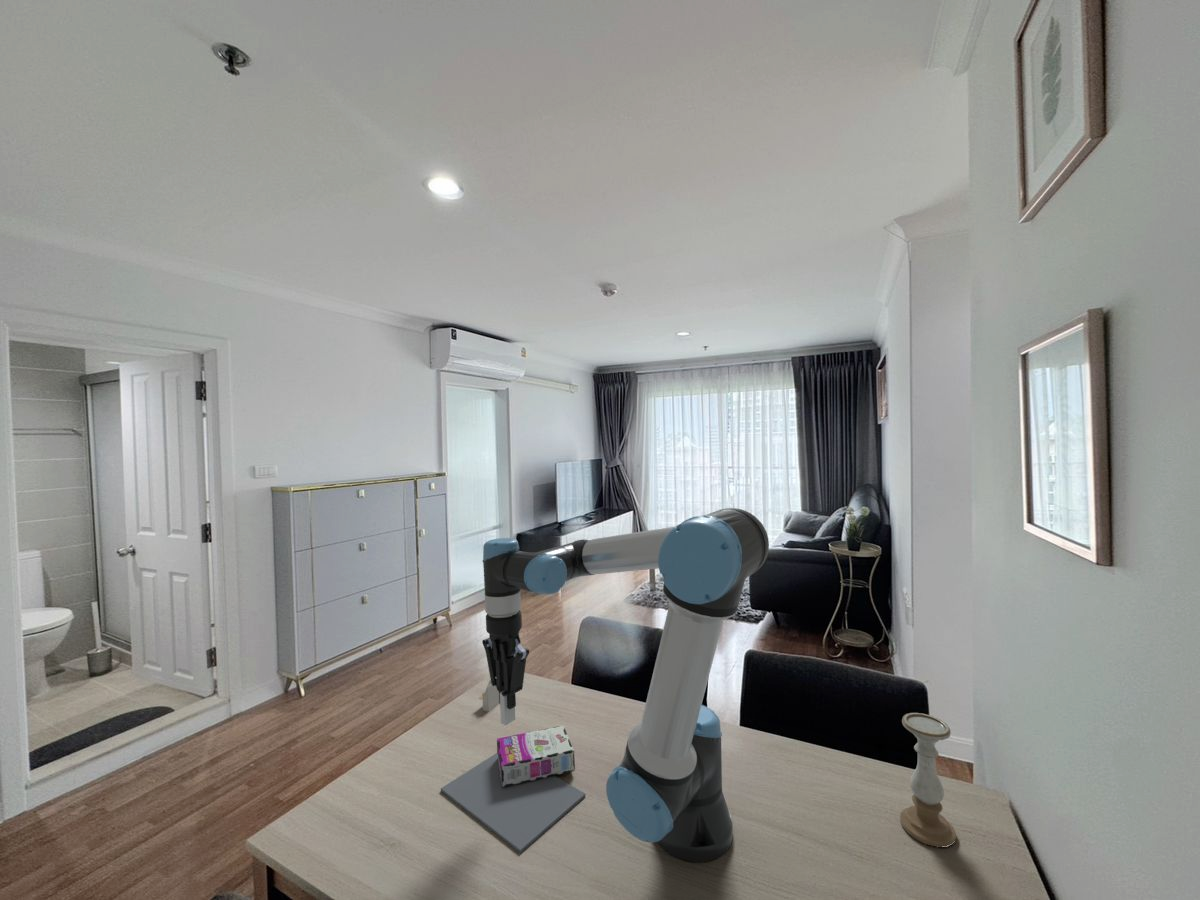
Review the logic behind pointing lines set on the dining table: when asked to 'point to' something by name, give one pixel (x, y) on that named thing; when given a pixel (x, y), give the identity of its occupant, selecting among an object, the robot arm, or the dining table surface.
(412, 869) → the dining table surface
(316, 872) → the dining table surface
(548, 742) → the candy bar box
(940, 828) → the candle holder
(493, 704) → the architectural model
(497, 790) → the mat
